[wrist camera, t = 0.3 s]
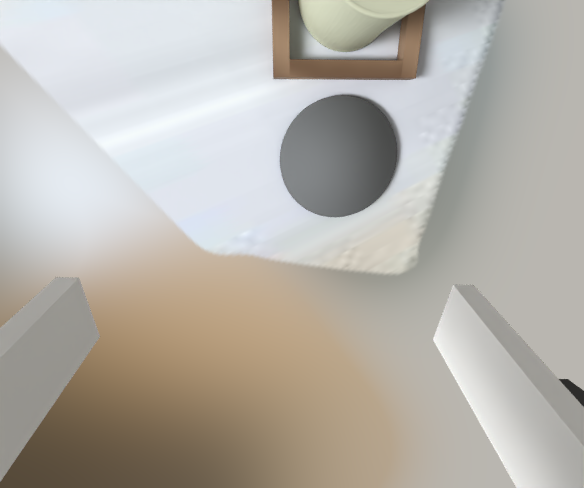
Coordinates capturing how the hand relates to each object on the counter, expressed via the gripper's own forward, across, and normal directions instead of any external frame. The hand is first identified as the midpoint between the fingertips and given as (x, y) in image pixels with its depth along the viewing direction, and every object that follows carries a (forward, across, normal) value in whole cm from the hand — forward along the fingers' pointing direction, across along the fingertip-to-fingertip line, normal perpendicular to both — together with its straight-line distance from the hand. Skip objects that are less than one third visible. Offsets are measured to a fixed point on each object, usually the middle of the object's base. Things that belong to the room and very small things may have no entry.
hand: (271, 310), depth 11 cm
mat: (+26, +7, -1) cm, 27 cm away
